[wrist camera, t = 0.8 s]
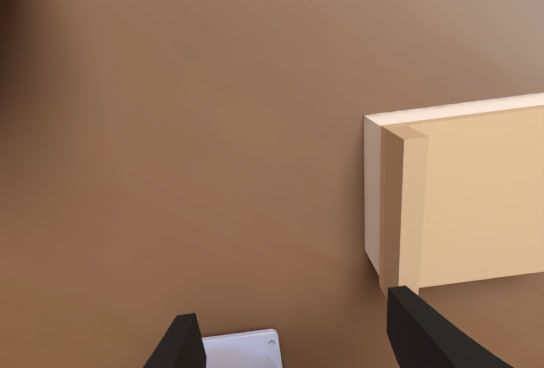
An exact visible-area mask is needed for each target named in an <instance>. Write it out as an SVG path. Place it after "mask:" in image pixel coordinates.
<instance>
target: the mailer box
mask: <svg viewBox="0 0 544 368" xmlns="http://www.w3.org/2000/svg"><path fill="white" fill-rule="evenodd" d="M538 105H544V93H536V94H528V95H520V96H512V97H504V98H496V99H488V100H480V101H473V102H465V103H457V104H449V105H441V106H433V107H425V108H417V109H409V110H401V111H394V112H386V113H378V114H370V115H364V213H365V251H366V253H367V255H368V257H369V258H370V260H371V262H372V264H373V266H374V267H375V269H376V271H377V273H378V275H379V261H380V172H381V125H388V124H396V123H403V122H411V121H419V120H427V119H435V118H443V117H451V116H459V115H467V114H474V113H482V112H490V111H498V110H506V109H514V108H522V107H530V106H538Z"/></svg>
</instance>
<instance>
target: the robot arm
mask: <svg viewBox="0 0 544 368" xmlns="http://www.w3.org/2000/svg"><path fill="white" fill-rule="evenodd" d="M387 335H388V337H389V340H390V343H391V346H392V349H393V351H394V354H395V356H396V359H397V362H398V364H399V366H400V368H513V367H512V366H510V365H509V364H507V363H505V362H504V361H502V360H501V359H499V358H498V357H496V356H495V355H494V354H492V353H491V352H489V351H488V350H486V349H485V348H484V347H482V346H481V345H479V344H478V343H477V342H475V341H474V340H473V339H471V338H470V337H469V336H467V335H466V334H465V333H463V332H462V331H461V330H459V329H458V328H457V327H456V326H454V325H453V324H452V323H451V322H449V321H448V320H447V319H446V318H444V317H443V316H442V315H441V314H439V313H438V312H437V311H436V310H435V309H433V308H432V307H431V306H430V305H429V304H427V303H426V302H425V301H424V300H423V299H421V298H420V297H419V296H418V295H417V294H416V293H414V292H413V291H412V290H411V289H410V288H408V287H407V286H406V285H404V286H396V287H389V288H388V302H387ZM271 340H274V341H271ZM143 368H283V367H282V360H281V353H280V346H279V339H278V333H277V331H276V330H274V329H265V330H258V331H250V332H242V333H235V334H227V335H220V336H212V337H205V338H202V337H201V333H200V329H199V325H198V322H197V318H196V314H195V313H192V314H184V315H177V317H176V318H175V319H174V321H173V322H172V324H171V325H170V327H169V329H168V330H167V332H166V333H165V335H164V337H163V338H162V340H161V341H160V343H159V344H158V346H157V347H156V349H155V351H154V352H153V354H152V355H151V356H150V358H149V359H148V361H147V362H146V364H145V365H144V367H143Z"/></svg>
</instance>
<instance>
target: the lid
mask: <svg viewBox="0 0 544 368" xmlns="http://www.w3.org/2000/svg"><path fill="white" fill-rule="evenodd" d="M543 271H544V105H538V106H530V107H522V108H514V109H506V110H498V111H490V112H482V113H474V114H467V115H459V116H451V117H443V118H435V119H427V120H419V121H411V122H403V123H396V124H388V125H381V172H380V261H379V286H380V288H381V290H382V292H383V294H384V295H385V297H386V299H387V301H388V288H389V287H396V286H404V285H406V286H407V287H408V288H410V289H411V290H412V291H413V292H414V293H416V294H417V295H418V291H419V288H421V287H429V286H436V285H444V284H452V283H459V282H467V281H474V280H482V279H490V278H497V277H505V276H512V275H520V274H527V273H535V272H543Z"/></svg>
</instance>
